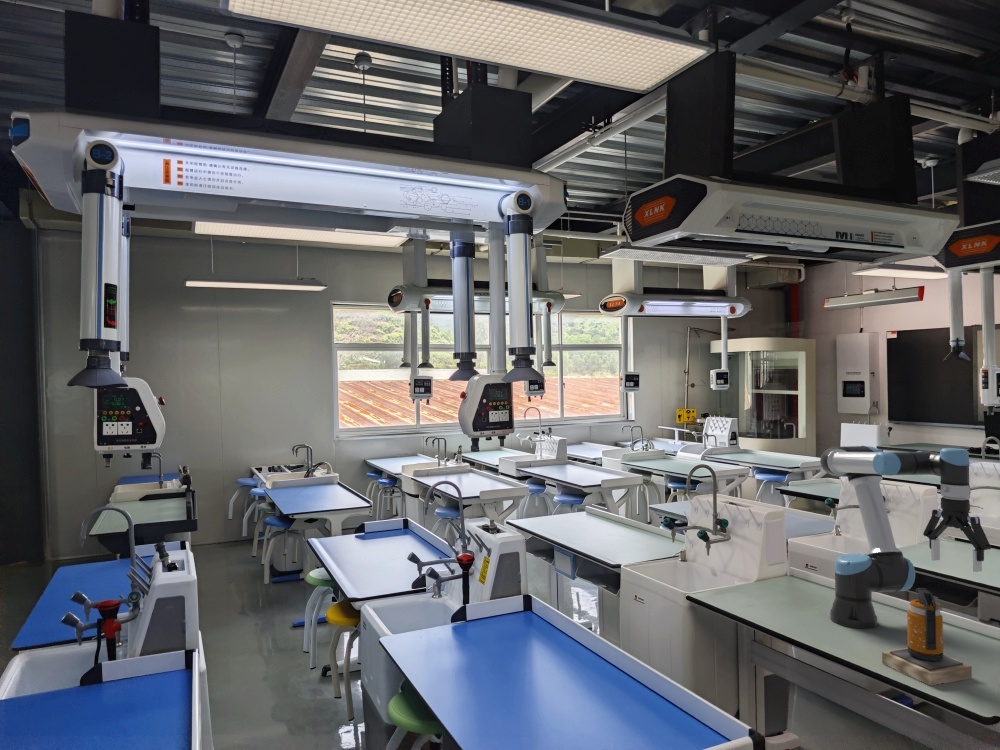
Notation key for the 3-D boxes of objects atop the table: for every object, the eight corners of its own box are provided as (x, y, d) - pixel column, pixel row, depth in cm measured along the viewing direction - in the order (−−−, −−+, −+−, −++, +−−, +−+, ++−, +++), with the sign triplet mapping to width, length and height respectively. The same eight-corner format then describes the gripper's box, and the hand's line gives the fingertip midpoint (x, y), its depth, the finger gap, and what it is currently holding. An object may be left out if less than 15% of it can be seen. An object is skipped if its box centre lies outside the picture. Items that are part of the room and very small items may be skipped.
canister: (937, 652, 202) (936, 586, 202) (950, 667, 191) (949, 597, 192) (903, 648, 204) (902, 583, 205) (915, 663, 194) (914, 594, 194)
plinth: (882, 663, 203) (882, 650, 203) (921, 656, 208) (921, 643, 208) (930, 686, 188) (930, 671, 188) (971, 678, 193) (971, 664, 193)
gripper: (910, 492, 219) (911, 556, 219) (986, 505, 195) (987, 577, 195) (927, 491, 221) (928, 554, 221) (1004, 503, 197) (1005, 575, 197)
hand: (955, 565), depth 208 cm, fingers open, 13 cm apart
